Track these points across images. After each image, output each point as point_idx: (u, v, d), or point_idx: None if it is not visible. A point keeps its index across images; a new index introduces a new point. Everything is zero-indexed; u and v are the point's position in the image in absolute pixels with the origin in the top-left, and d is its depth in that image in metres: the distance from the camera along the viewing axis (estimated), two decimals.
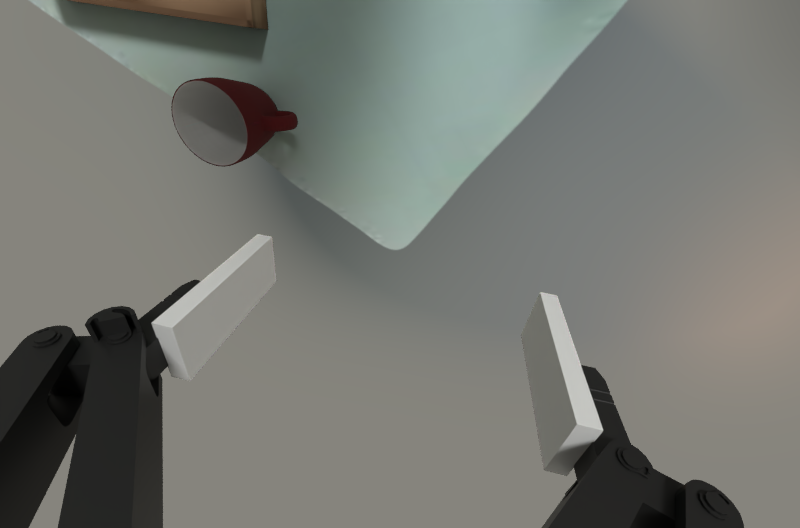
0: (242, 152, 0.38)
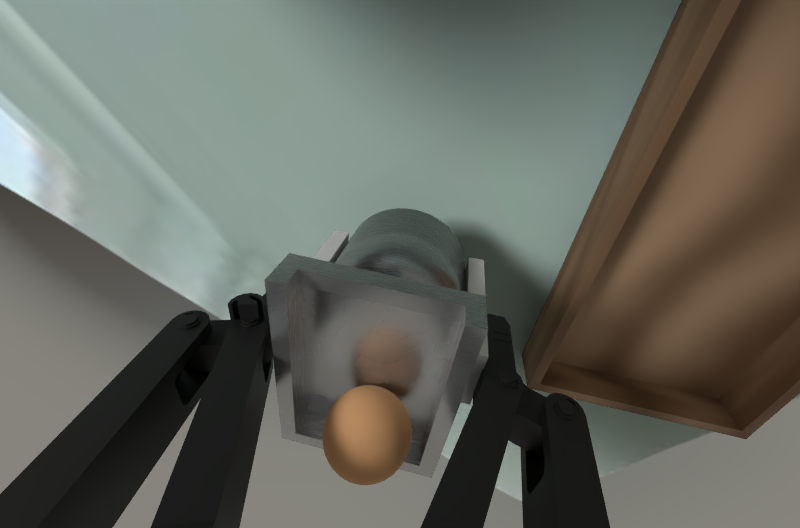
0: None
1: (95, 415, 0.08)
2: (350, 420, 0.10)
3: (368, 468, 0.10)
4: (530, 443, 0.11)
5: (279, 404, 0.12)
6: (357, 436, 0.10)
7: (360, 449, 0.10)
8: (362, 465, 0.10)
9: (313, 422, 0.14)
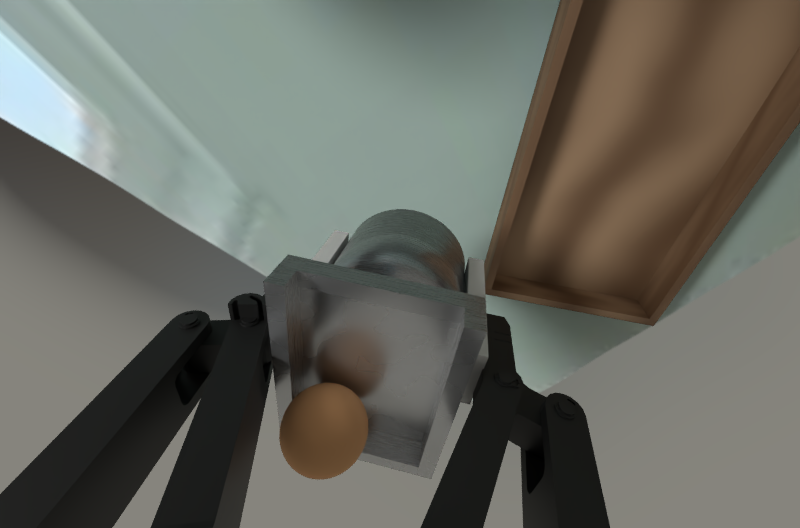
0: None
1: (95, 415, 0.08)
2: (294, 401, 0.11)
3: (282, 449, 0.11)
4: (530, 443, 0.11)
5: (278, 405, 0.12)
6: (286, 416, 0.11)
7: (282, 428, 0.11)
8: (280, 442, 0.11)
9: None
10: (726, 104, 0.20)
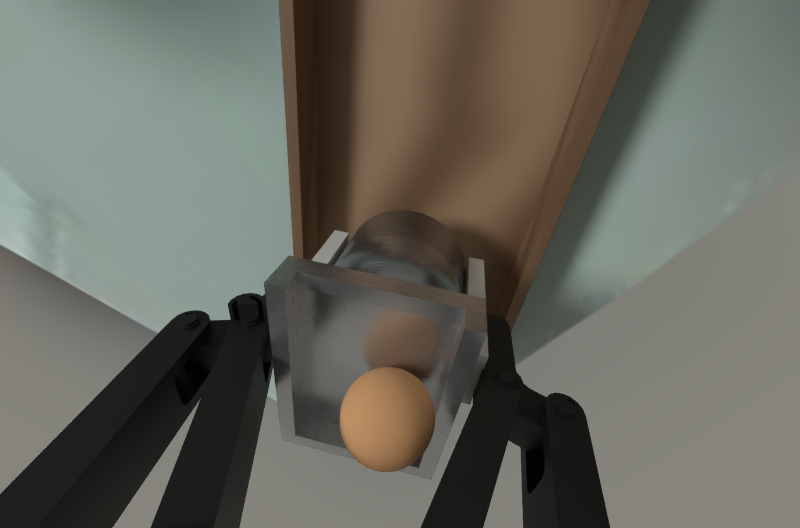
0: None
1: (95, 415, 0.08)
2: None
3: (356, 448, 0.09)
4: (529, 443, 0.11)
5: (279, 406, 0.12)
6: (341, 431, 0.10)
7: (343, 439, 0.10)
8: (352, 450, 0.10)
9: (312, 424, 0.14)
10: (529, 106, 0.16)
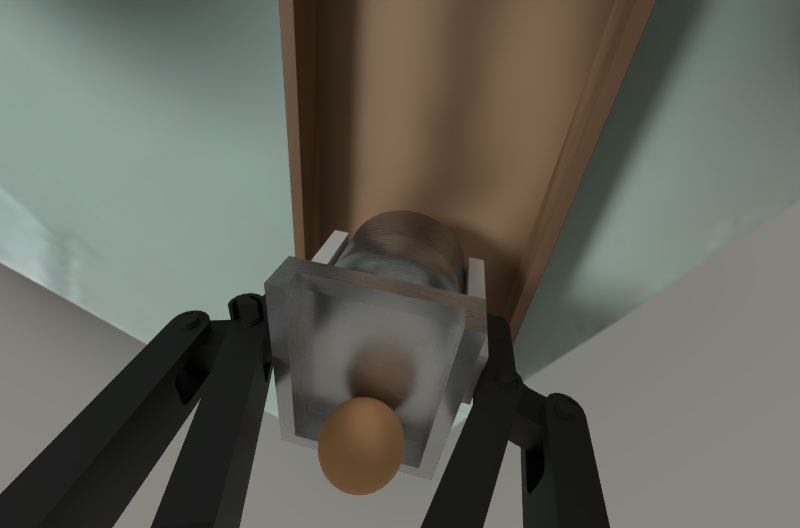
0: None
1: (95, 415, 0.08)
2: None
3: None
4: (529, 443, 0.11)
5: (279, 406, 0.12)
6: None
7: None
8: None
9: (312, 424, 0.14)
10: (519, 155, 0.17)
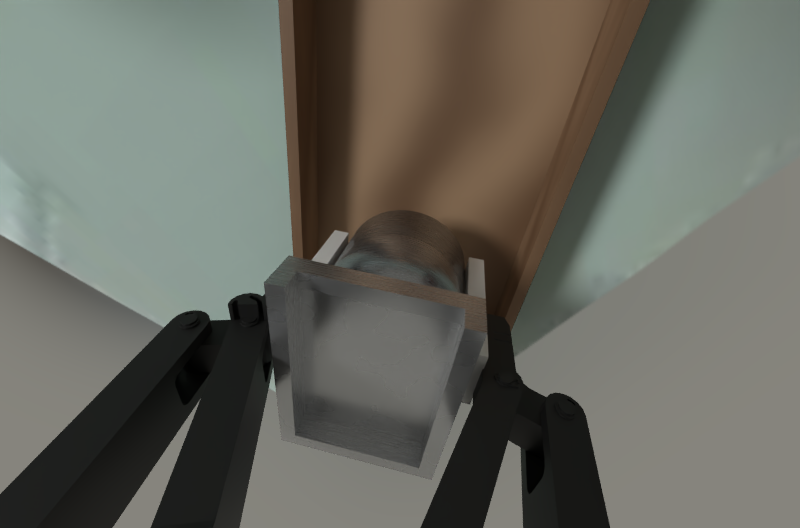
0: None
1: (95, 415, 0.08)
2: None
3: None
4: (530, 443, 0.11)
5: (278, 406, 0.12)
6: None
7: None
8: None
9: (312, 423, 0.14)
10: (540, 69, 0.15)
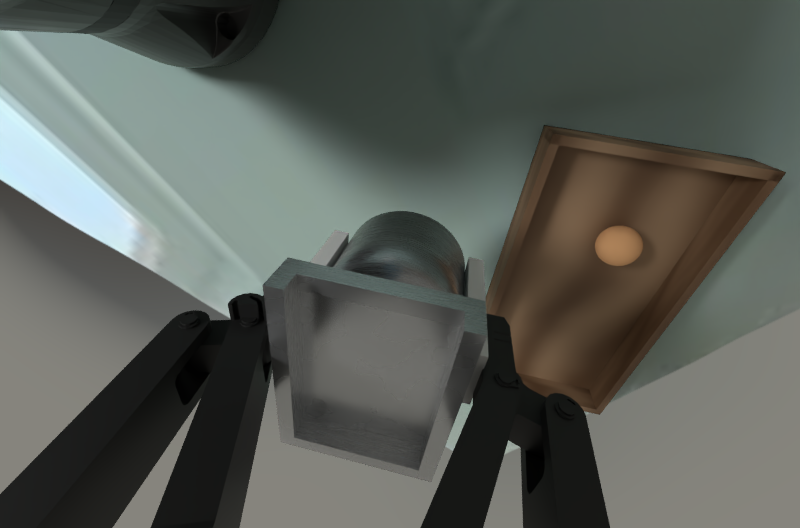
0: None
1: (95, 415, 0.08)
2: (607, 237, 0.24)
3: (599, 235, 0.26)
4: (529, 443, 0.11)
5: (278, 408, 0.12)
6: (601, 236, 0.25)
7: (599, 235, 0.25)
8: None
9: (311, 426, 0.14)
10: (645, 268, 0.27)
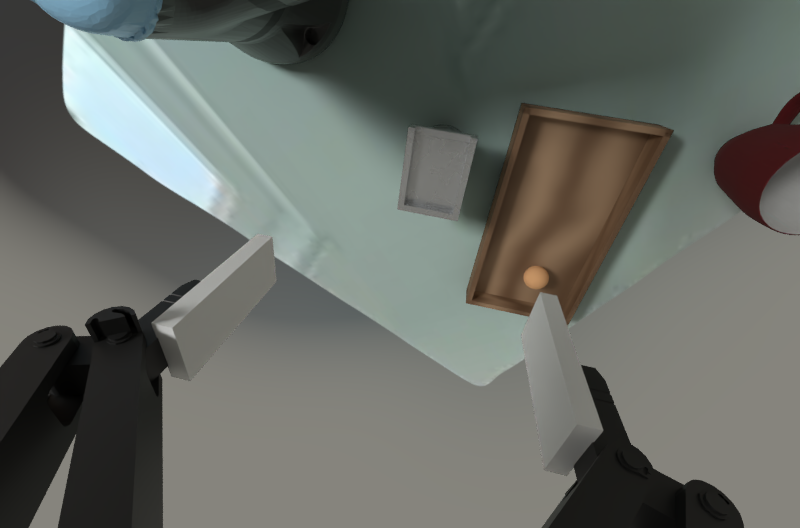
0: None
1: None
2: (525, 281, 0.43)
3: (529, 271, 0.42)
4: None
5: (400, 188, 0.33)
6: (525, 278, 0.42)
7: (526, 275, 0.42)
8: (528, 273, 0.42)
9: (409, 203, 0.34)
10: (595, 206, 0.38)
